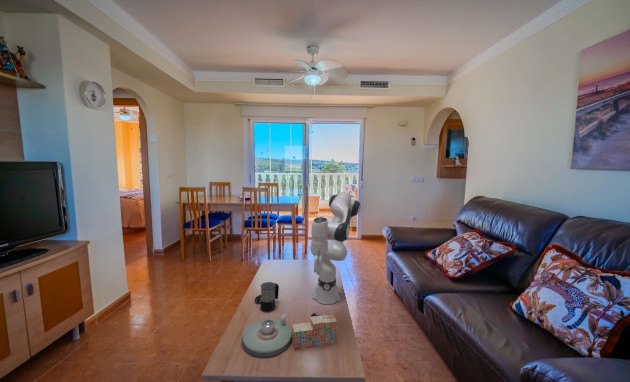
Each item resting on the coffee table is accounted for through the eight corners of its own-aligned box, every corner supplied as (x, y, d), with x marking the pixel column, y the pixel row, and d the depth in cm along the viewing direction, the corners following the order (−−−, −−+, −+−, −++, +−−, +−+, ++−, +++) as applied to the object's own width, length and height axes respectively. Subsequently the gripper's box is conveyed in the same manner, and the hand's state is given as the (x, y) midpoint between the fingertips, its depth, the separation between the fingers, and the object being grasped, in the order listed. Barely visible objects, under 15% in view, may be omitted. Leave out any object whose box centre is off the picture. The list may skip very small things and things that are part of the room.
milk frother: (272, 313, 151) (272, 289, 150) (247, 309, 155) (247, 286, 153) (280, 301, 165) (280, 279, 164) (257, 298, 168) (257, 276, 167)
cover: (269, 325, 134) (269, 315, 134) (280, 333, 129) (280, 322, 128) (255, 333, 128) (255, 322, 127) (266, 342, 122) (266, 330, 121)
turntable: (271, 316, 145) (272, 305, 145) (301, 336, 129) (301, 324, 129) (233, 335, 128) (233, 323, 127) (261, 361, 112) (262, 347, 111)
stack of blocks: (293, 350, 122) (294, 326, 121) (291, 341, 128) (292, 318, 127) (336, 344, 127) (337, 321, 126) (332, 336, 133) (333, 313, 132)
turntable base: (251, 322, 142) (251, 319, 142) (295, 326, 140) (295, 323, 140) (233, 355, 117) (233, 352, 117) (286, 360, 115) (287, 357, 115)
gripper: (324, 255, 124) (323, 283, 125) (326, 243, 144) (325, 266, 145) (311, 254, 124) (310, 282, 126) (315, 242, 145) (314, 266, 146)
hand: (318, 273), depth 136 cm, fingers closed
